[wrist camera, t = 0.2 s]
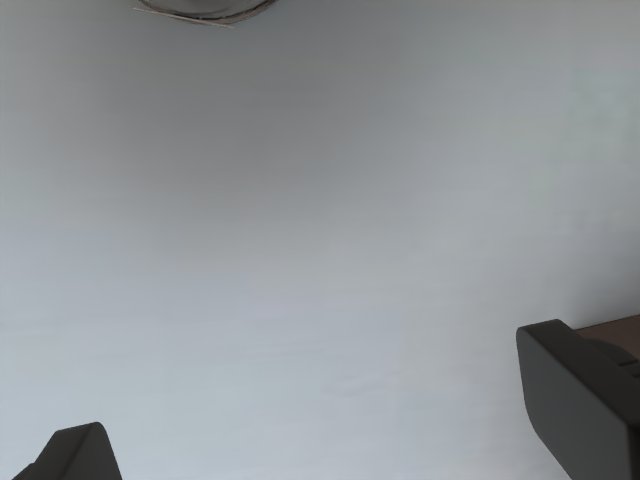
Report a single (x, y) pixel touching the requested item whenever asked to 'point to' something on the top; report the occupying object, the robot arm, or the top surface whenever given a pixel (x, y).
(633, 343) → the shelf
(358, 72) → the top surface
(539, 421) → the robot arm
